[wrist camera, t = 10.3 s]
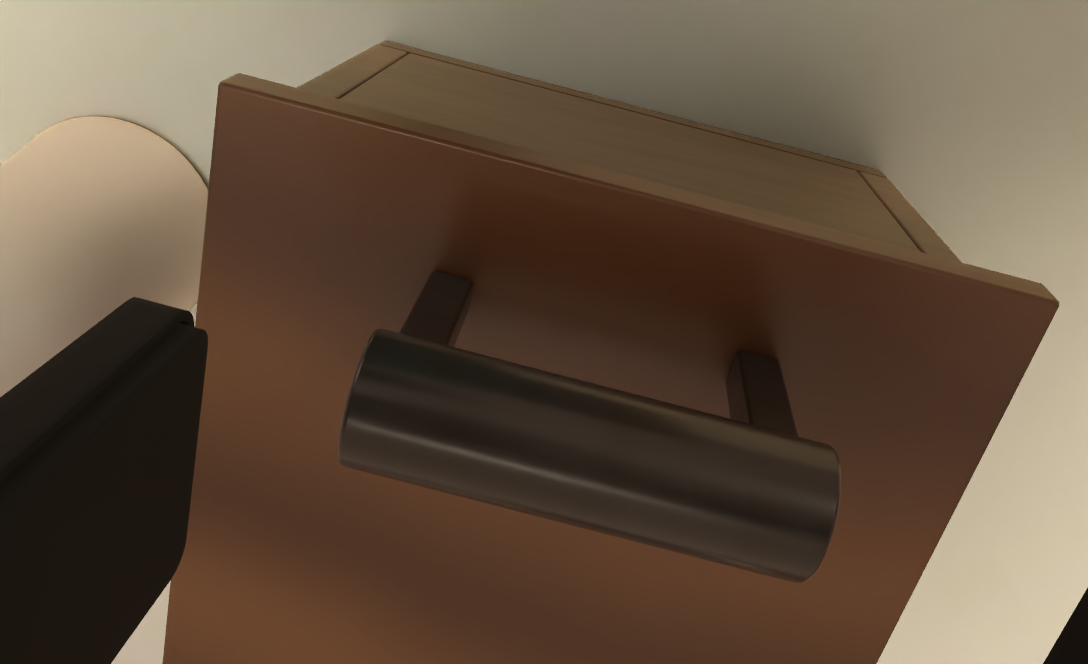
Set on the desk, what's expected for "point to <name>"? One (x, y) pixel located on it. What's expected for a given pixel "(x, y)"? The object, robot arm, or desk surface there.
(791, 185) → the chest
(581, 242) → the lid
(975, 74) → the desk surface
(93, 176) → the cosmetic bottle
